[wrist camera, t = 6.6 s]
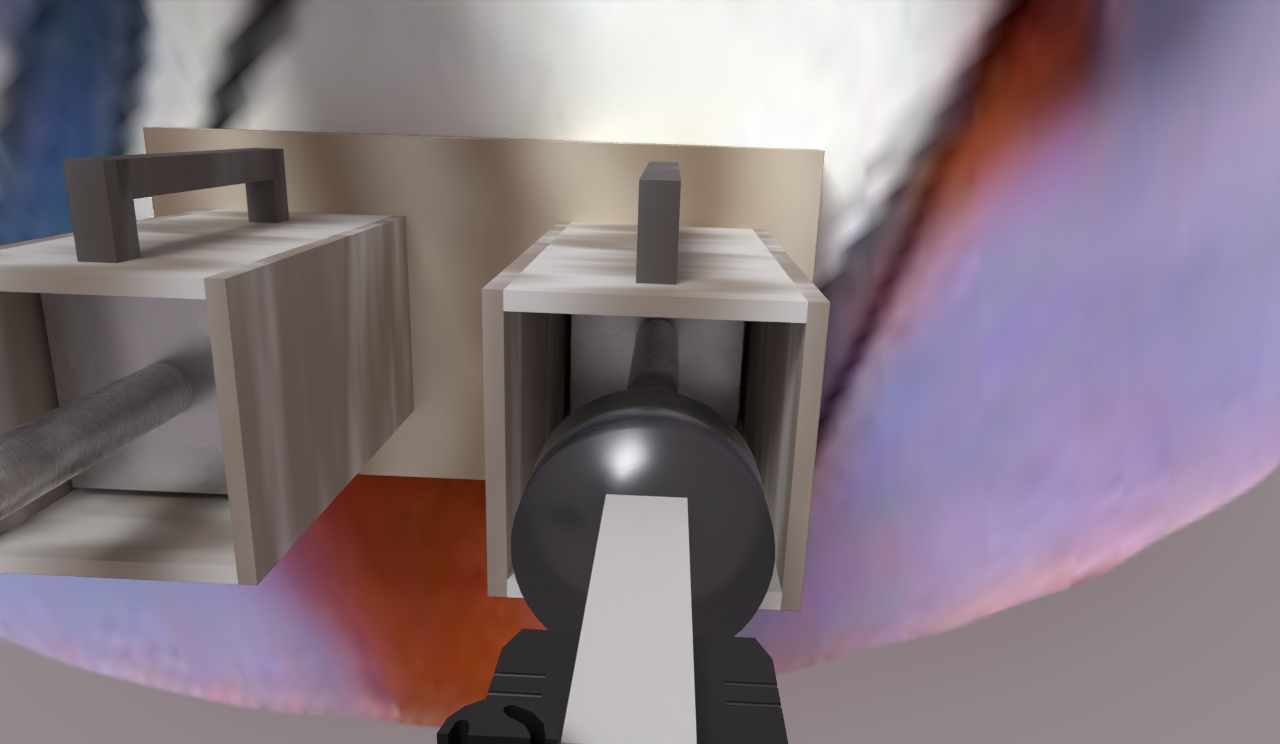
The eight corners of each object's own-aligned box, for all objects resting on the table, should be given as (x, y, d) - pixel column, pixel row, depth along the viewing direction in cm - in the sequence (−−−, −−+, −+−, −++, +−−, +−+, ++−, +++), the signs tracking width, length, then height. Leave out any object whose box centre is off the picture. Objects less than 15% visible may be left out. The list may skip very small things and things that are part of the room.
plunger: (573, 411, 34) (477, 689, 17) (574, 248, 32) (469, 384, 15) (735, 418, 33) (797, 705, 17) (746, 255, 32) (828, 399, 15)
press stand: (210, 449, 38) (-96, 666, 23) (172, 127, 35) (-228, 130, 19) (787, 474, 38) (867, 714, 22) (815, 149, 34) (935, 171, 19)
